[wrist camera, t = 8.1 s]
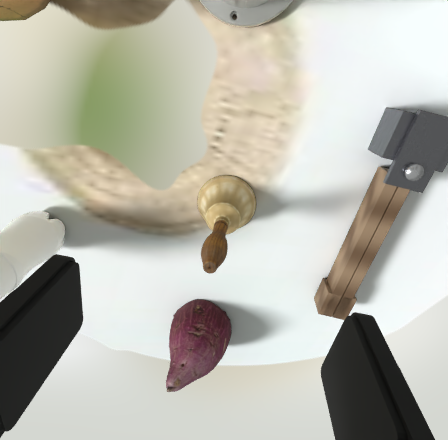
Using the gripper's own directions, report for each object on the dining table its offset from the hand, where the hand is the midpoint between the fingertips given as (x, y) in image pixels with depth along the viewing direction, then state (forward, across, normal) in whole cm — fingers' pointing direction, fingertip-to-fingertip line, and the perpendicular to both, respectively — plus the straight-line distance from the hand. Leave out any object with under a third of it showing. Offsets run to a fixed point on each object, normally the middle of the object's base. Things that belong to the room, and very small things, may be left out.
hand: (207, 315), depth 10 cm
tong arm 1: (+30, -20, +11) cm, 37 cm away
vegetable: (+30, 0, +32) cm, 44 cm away
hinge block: (+30, -19, -3) cm, 36 cm away
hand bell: (+30, 0, +9) cm, 32 cm away
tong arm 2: (+30, -18, +11) cm, 36 cm away
